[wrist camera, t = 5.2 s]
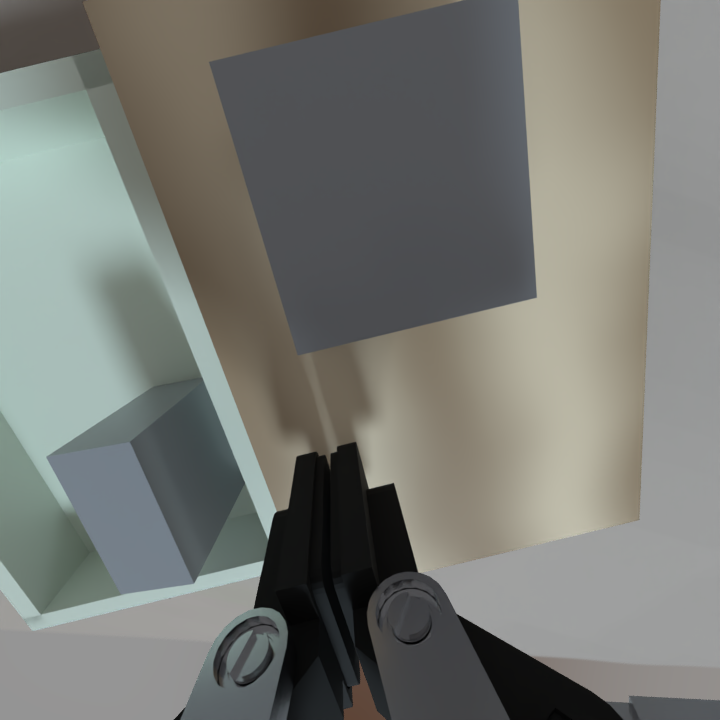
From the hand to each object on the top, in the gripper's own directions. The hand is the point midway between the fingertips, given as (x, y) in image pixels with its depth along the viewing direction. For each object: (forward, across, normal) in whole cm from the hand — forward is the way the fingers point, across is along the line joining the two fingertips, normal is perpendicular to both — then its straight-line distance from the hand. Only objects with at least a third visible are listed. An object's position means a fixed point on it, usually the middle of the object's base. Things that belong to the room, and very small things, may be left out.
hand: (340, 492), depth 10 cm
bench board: (+6, -4, -4) cm, 8 cm away
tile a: (+3, +5, 0) cm, 6 cm away
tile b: (+1, -3, -7) cm, 8 cm away
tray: (+6, +8, -4) cm, 11 cm away
